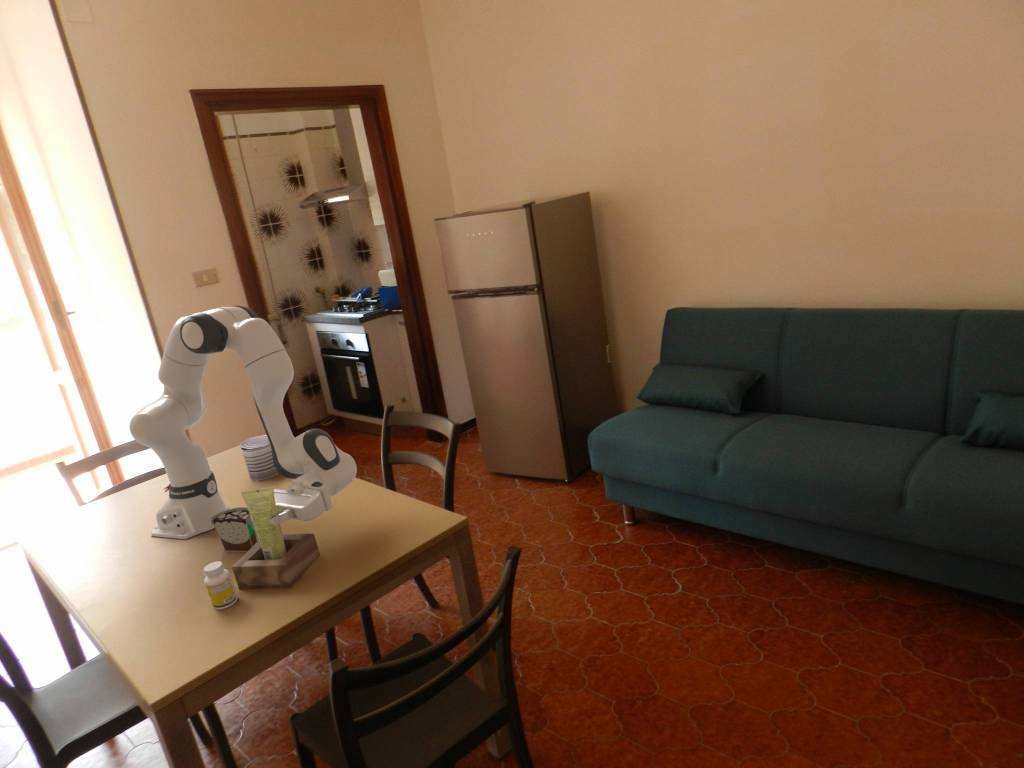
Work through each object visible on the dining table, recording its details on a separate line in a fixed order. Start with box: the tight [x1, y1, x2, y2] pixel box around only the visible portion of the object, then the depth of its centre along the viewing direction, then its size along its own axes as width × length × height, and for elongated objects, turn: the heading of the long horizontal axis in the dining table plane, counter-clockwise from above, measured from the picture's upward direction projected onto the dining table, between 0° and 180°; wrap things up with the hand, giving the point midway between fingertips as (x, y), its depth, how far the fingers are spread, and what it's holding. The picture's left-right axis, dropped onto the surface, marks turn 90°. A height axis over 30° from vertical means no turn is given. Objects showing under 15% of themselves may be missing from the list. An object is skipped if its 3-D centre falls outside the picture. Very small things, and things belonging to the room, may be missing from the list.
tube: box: [240, 486, 287, 560], centre depth 166 cm, size 6×5×20 cm
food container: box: [211, 506, 258, 553], centre depth 185 cm, size 12×6×10 cm, turn 71°
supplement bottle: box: [203, 560, 239, 611], centre depth 159 cm, size 5×5×10 cm
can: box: [239, 434, 281, 482], centre depth 234 cm, size 11×11×12 cm
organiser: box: [231, 532, 321, 590], centre depth 169 cm, size 14×14×6 cm
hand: (262, 520), depth 165 cm, fingers closed on tube, 5 cm apart
